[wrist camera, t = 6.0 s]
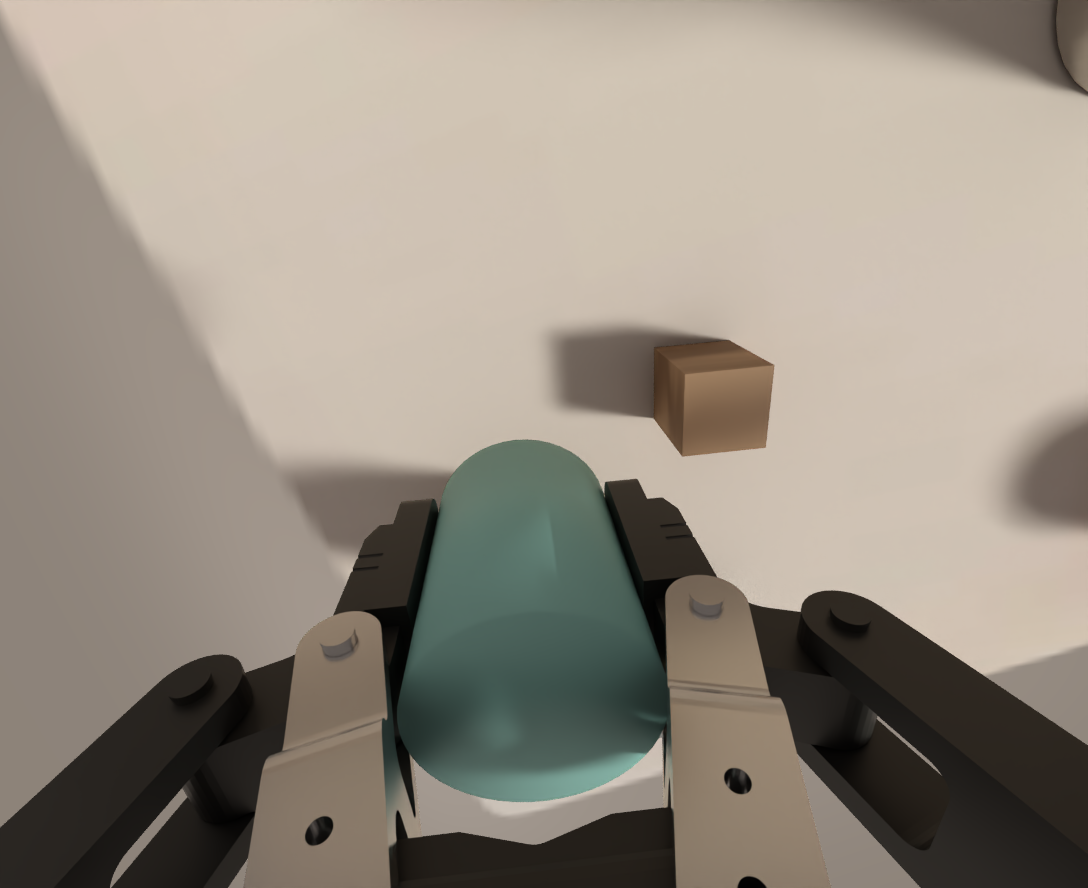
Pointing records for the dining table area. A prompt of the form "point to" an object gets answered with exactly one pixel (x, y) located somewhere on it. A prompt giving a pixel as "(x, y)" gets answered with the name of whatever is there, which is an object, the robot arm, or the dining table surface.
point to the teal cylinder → (529, 635)
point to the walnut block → (712, 397)
